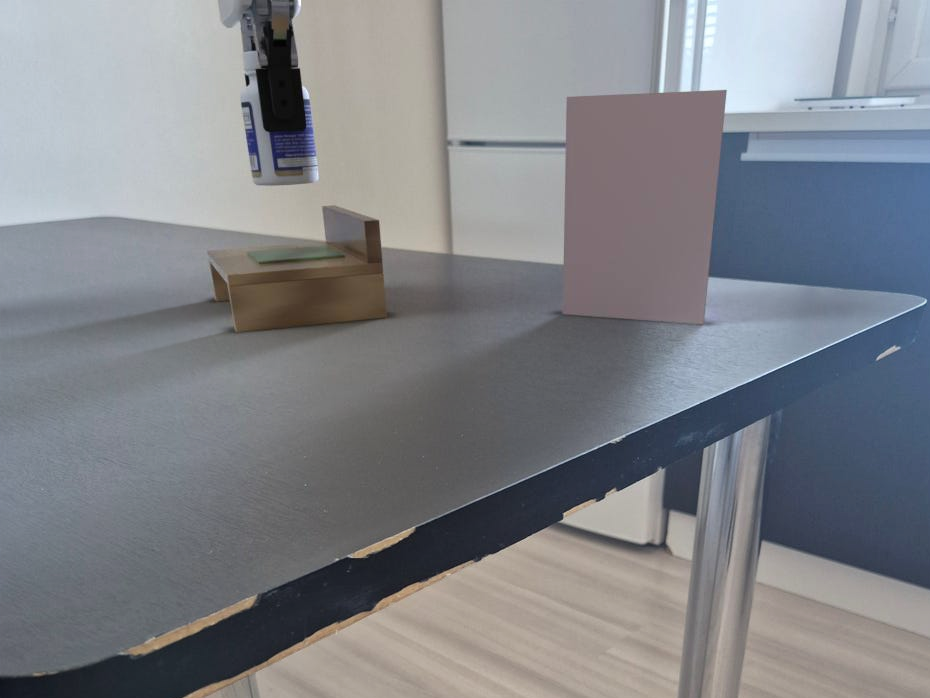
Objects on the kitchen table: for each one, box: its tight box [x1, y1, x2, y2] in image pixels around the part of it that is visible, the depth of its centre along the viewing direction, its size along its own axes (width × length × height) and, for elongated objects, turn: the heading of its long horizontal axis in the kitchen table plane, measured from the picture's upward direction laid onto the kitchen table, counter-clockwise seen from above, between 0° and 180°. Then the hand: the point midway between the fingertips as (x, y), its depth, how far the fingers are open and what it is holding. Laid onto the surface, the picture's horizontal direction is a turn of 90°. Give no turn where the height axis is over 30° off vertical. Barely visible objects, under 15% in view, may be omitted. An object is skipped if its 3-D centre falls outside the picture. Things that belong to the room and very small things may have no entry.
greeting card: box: [562, 89, 728, 325], centre depth 64 cm, size 11×7×15 cm, turn 26°
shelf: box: [206, 204, 388, 333], centre depth 74 cm, size 12×16×7 cm
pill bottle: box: [239, 51, 320, 187], centre depth 68 cm, size 5×5×9 cm
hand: (278, 128), depth 69 cm, fingers closed on pill bottle, 5 cm apart
